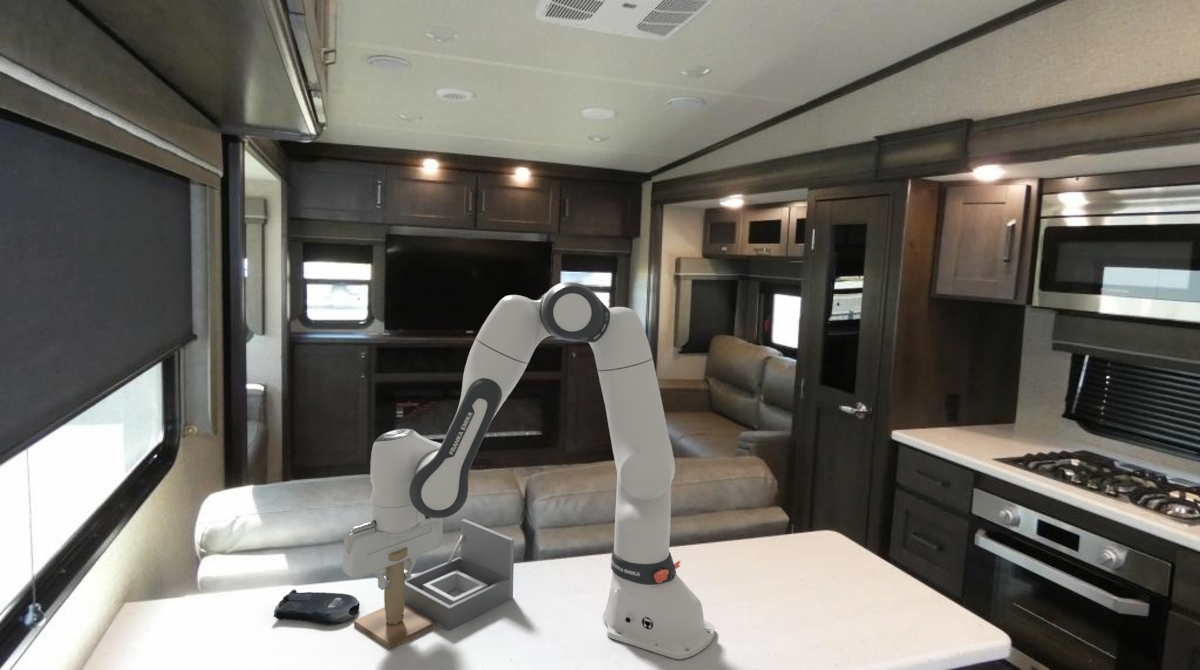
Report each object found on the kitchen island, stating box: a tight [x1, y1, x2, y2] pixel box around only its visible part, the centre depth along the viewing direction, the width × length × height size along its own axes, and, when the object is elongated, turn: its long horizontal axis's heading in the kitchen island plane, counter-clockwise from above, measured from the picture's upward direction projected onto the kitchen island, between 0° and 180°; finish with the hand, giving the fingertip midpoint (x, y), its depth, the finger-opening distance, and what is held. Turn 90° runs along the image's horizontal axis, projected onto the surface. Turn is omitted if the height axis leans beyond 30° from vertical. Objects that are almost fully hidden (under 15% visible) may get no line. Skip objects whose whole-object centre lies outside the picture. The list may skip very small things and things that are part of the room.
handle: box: [383, 547, 408, 625], centre depth 127 cm, size 5×6×15 cm
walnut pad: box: [353, 605, 436, 650], centre depth 128 cm, size 12×10×1 cm
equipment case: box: [405, 518, 515, 631], centre depth 138 cm, size 16×17×13 cm
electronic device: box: [273, 588, 360, 625], centre depth 132 cm, size 9×6×15 cm
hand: (395, 583), depth 127 cm, fingers closed on handle, 3 cm apart
